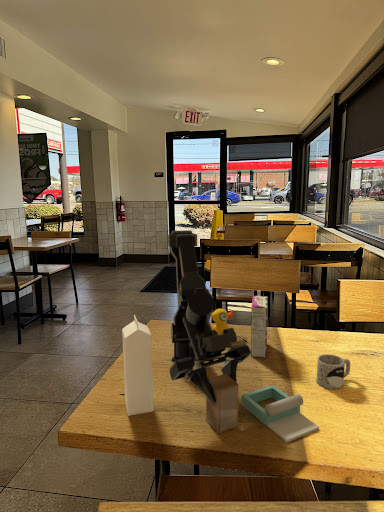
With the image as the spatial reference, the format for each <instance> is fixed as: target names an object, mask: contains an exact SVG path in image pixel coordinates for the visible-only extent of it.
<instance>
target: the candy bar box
mask: <svg viewBox="0 0 384 512" xmlns="http://www.w3.org/2000/svg"><path fill="white" fill-rule="evenodd" d="M268 298H269V297H268V296H262V295H253V296H252V301H251V313H250V314H251V316H250V317H251V319H250V320H251V322H250V323H251V325H250V329H251V330H250V335H251V336H250V350H251V352H252V354H251V355H250V357H254V358H265V359H266V358H267V353H268V352H267V350H268V349H267V348H268V347H267V345H268V344H267V343H268V309H269V307H268V306H269V301H268Z"/></svg>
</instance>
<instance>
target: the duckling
mask: <svg viewBox="0 0 384 512" xmlns="http://www.w3.org/2000/svg"><path fill="white" fill-rule="evenodd" d="M234 314H235V313H234V310H231V311H230V312H228V311H227V310H226V309H224V308H217V309H215V310H213V312H212V315H211V317H210V318H211V319H212V320H213V322H214V324H213V325H212V324H211V322H210V321H209V323H210V326H211V328H212V330H216V331H217V334H218V335H220V334H223V330H224V329H228V328H230V327H229V324H228V323H227V320H228V321H229V320H231V319H233V317H234Z"/></svg>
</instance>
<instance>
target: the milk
mask: <svg viewBox="0 0 384 512" xmlns="http://www.w3.org/2000/svg"><path fill="white" fill-rule="evenodd" d="M133 319H134V320H133V321H132V322H130V323H128V324H127V325H126V326H124V327H123V328H122V330H121V334H122V337H121V338H122V357H123V358H122V360H123V361H122V362H123V380H124V382H123V383H124V402H125V407H126V412H127V416H128V417H129V416H133V415H134V416H135V415H141V414H147V413H152V412H154V409H155V407H154V406H155V405H154V381H153V380H154V374H153V343H152V341H153V336H152V334H151V331H150V329H149V327H148V325H146V324H144V323H141V322H139V321H138V319H137V317H136V315H135V314H133Z"/></svg>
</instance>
